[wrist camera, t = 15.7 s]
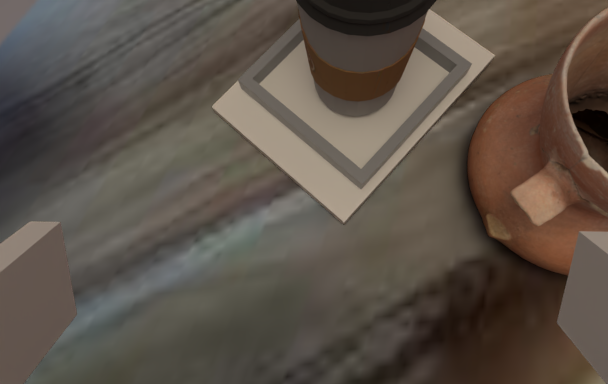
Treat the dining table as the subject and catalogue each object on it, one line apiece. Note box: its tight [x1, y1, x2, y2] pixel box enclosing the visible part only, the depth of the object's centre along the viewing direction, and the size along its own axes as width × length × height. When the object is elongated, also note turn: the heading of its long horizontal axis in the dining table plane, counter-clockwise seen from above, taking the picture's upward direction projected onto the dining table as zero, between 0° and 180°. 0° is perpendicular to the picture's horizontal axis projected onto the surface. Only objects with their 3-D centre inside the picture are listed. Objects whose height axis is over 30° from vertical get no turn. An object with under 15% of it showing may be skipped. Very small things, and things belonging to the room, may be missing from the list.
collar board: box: [212, 9, 495, 225], centre depth 37 cm, size 14×18×2 cm
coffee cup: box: [296, 0, 436, 116], centre depth 30 cm, size 8×8×15 cm
